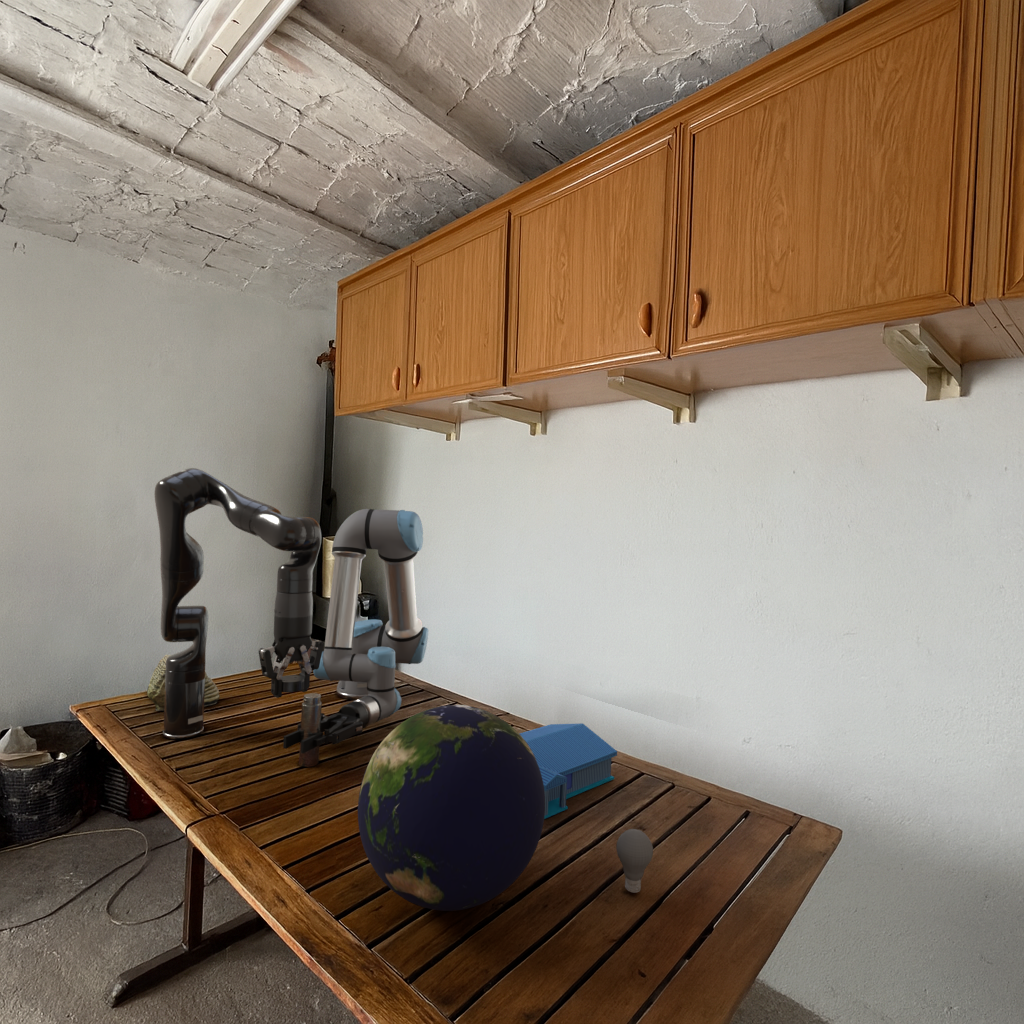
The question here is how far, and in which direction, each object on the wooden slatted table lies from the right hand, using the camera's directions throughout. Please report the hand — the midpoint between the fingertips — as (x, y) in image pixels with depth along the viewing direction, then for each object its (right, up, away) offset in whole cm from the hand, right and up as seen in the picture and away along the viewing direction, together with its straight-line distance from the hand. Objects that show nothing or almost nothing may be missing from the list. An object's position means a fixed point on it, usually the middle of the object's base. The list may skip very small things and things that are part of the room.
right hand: (293, 744), depth 145 cm
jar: (+2, -6, +5) cm, 8 cm away
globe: (+40, -9, -42) cm, 59 cm away
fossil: (-46, -3, +40) cm, 61 cm away
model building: (+54, -9, -3) cm, 54 cm away
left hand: (+4, +16, -13) cm, 21 cm away
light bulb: (+70, -10, -39) cm, 81 cm away
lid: (+4, +18, -13) cm, 23 cm away
